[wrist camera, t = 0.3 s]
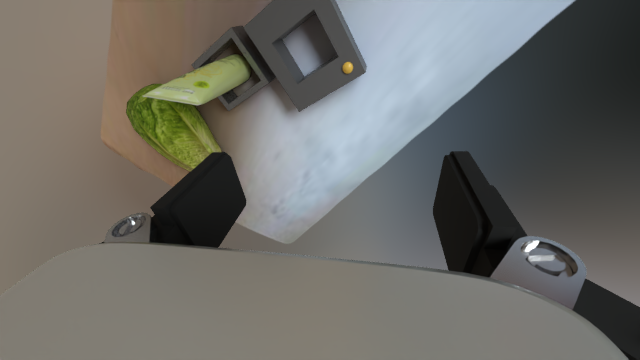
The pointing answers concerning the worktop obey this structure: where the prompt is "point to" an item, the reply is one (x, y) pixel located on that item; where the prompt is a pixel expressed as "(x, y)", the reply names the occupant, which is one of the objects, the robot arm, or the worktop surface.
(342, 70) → the port block
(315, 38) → the worktop surface
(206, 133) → the lettuce
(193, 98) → the tube
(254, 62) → the gray square frame
